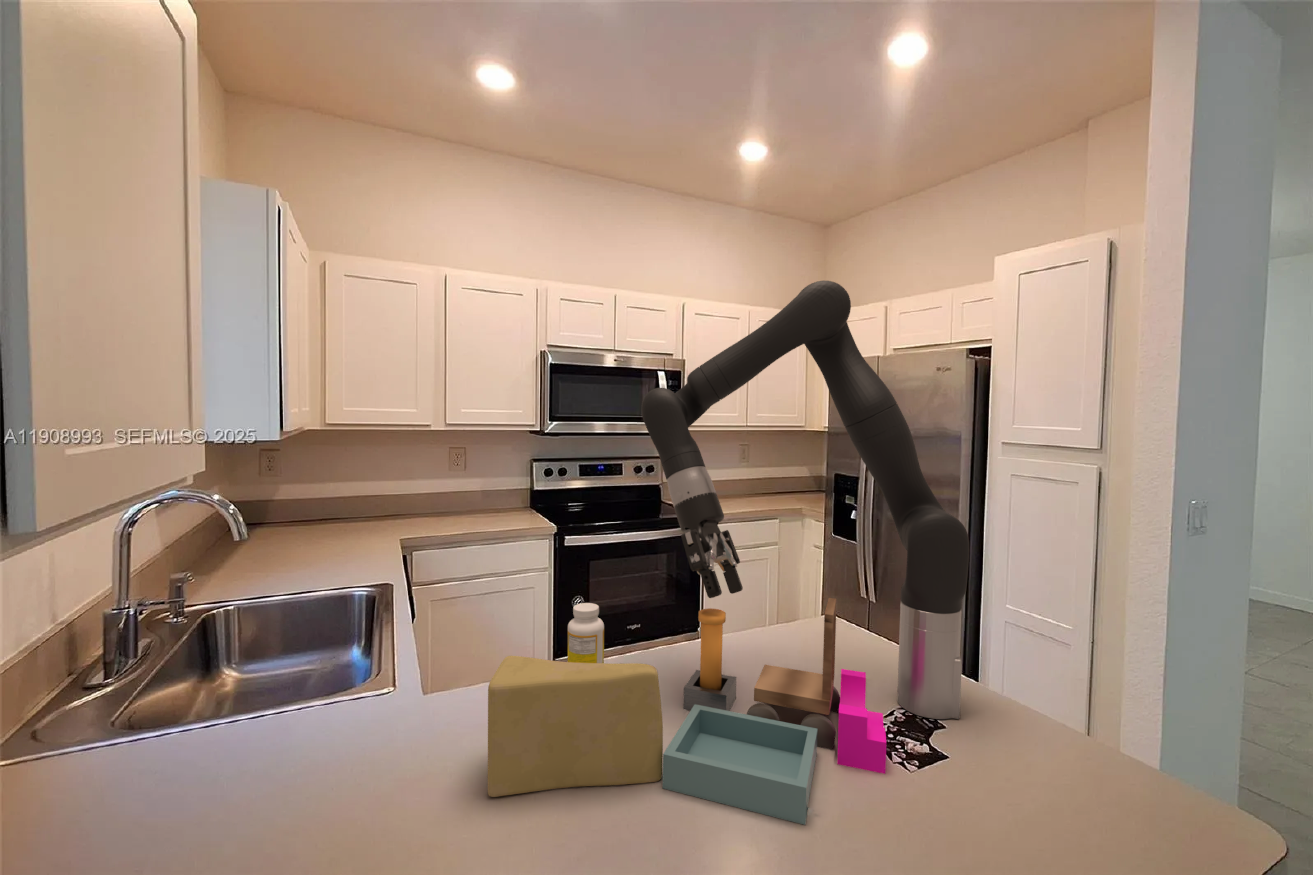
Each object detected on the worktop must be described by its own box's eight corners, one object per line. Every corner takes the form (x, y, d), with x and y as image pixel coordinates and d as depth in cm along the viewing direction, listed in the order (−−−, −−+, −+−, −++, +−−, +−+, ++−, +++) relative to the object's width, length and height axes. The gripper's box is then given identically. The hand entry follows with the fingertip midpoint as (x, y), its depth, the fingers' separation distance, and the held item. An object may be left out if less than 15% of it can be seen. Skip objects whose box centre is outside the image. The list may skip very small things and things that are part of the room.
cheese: (661, 757, 82) (663, 652, 82) (662, 803, 73) (664, 684, 72) (504, 755, 82) (505, 650, 82) (484, 801, 72) (485, 682, 72)
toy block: (885, 775, 79) (887, 721, 79) (837, 765, 81) (838, 712, 81) (880, 721, 93) (882, 674, 93) (839, 713, 95) (841, 668, 95)
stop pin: (726, 699, 97) (728, 610, 96) (719, 712, 93) (721, 619, 92) (701, 694, 99) (702, 607, 98) (693, 706, 94) (695, 615, 94)
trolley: (839, 715, 95) (843, 595, 94) (834, 756, 83) (838, 620, 82) (759, 699, 99) (762, 585, 98) (744, 737, 87) (747, 608, 87)
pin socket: (735, 703, 98) (736, 677, 98) (725, 723, 91) (726, 695, 91) (695, 695, 100) (696, 669, 100) (683, 715, 94) (683, 687, 94)
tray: (816, 760, 82) (817, 728, 82) (805, 825, 69) (806, 788, 69) (694, 733, 88) (694, 704, 88) (662, 788, 75) (663, 754, 75)
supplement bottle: (584, 664, 112) (585, 598, 111) (611, 674, 108) (612, 605, 107) (559, 677, 106) (560, 607, 106) (586, 687, 103) (587, 615, 102)
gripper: (694, 487, 90) (729, 590, 85) (730, 493, 102) (763, 584, 97) (655, 505, 93) (686, 606, 88) (694, 508, 105) (724, 597, 100)
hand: (726, 594), depth 93 cm, fingers open, 8 cm apart
